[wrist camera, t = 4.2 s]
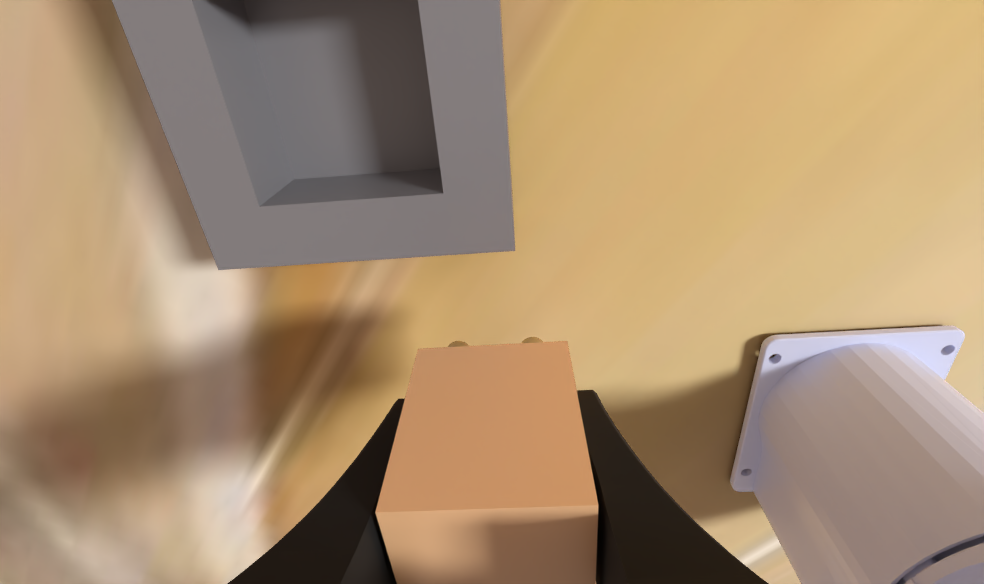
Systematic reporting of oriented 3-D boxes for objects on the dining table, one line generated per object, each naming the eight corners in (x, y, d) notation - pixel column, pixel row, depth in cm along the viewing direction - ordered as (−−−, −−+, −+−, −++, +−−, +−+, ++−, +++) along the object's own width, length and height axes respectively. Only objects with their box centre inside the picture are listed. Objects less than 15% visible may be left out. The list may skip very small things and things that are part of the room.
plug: (563, 420, 16) (593, 627, 11) (442, 425, 16) (410, 630, 11) (562, 316, 14) (598, 505, 9) (424, 324, 14) (375, 512, 9)
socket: (513, 210, 18) (515, 251, 15) (265, 227, 19) (218, 270, 16) (493, -115, 14) (489, -153, 11) (164, -80, 14) (70, -106, 11)
